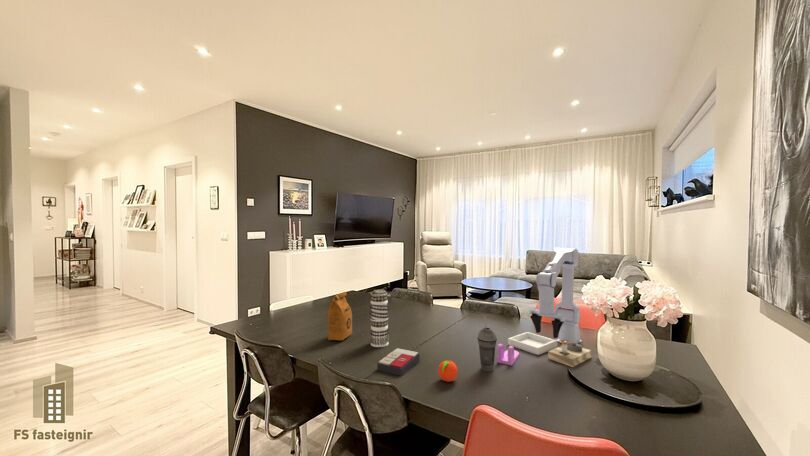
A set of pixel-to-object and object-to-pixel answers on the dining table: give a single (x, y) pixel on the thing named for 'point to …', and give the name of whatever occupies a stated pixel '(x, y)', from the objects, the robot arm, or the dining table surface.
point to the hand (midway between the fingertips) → (546, 334)
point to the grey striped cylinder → (379, 318)
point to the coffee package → (339, 318)
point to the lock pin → (564, 346)
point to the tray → (532, 343)
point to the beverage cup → (487, 347)
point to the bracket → (506, 355)
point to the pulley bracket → (570, 354)
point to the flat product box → (399, 361)
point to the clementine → (448, 371)
